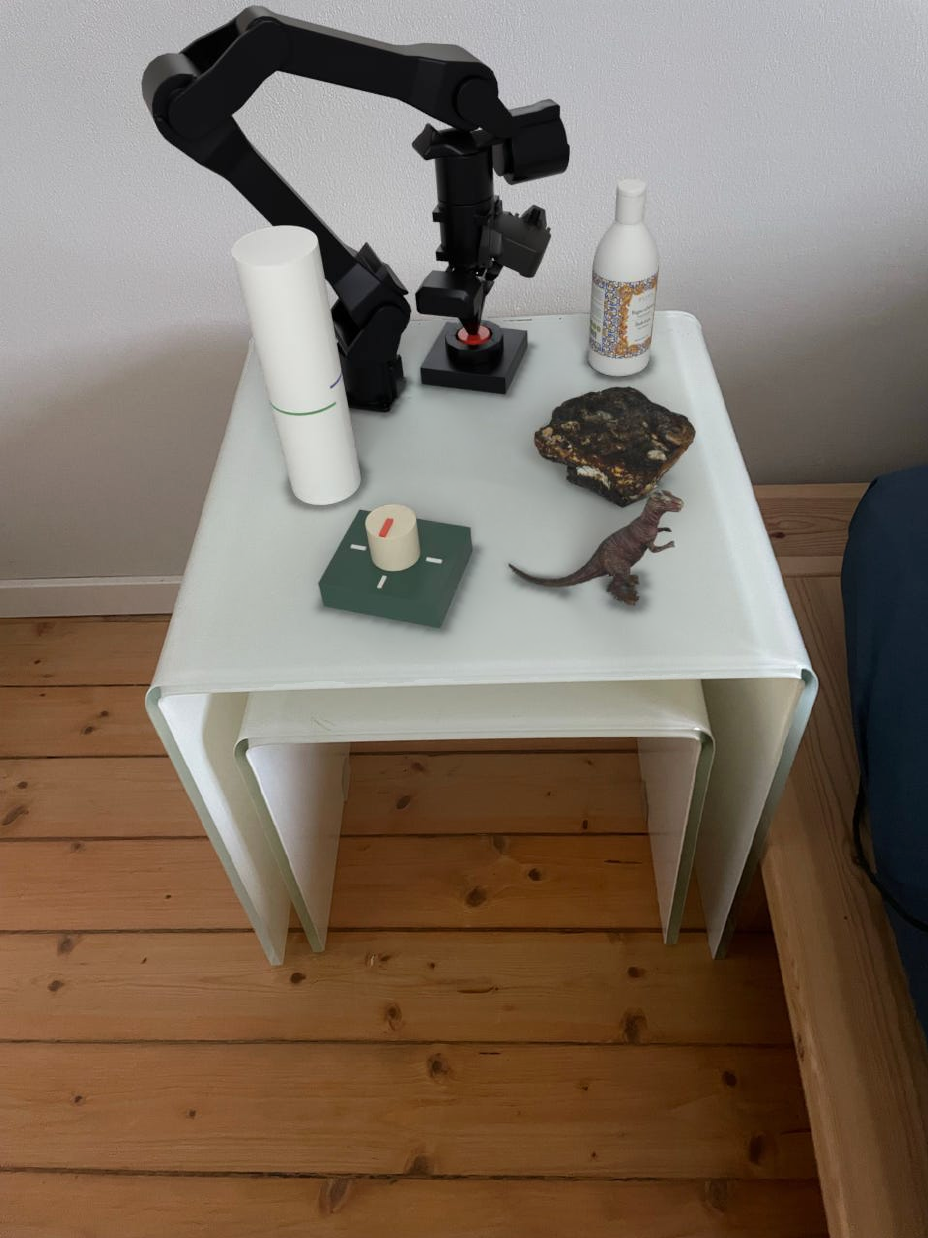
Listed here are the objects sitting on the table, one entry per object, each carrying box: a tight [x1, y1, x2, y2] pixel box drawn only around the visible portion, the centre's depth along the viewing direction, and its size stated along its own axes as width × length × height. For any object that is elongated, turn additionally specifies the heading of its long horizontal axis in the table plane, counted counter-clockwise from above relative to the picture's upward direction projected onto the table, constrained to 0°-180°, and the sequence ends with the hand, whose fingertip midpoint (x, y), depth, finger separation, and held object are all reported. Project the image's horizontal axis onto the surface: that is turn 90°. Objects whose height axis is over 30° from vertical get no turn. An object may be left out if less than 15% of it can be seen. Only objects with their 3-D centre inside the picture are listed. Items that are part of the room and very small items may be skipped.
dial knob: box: [365, 503, 420, 571], centre depth 80 cm, size 4×4×4 cm
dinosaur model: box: [507, 489, 685, 606], centre depth 77 cm, size 4×12×15 cm
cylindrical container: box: [230, 226, 362, 506], centre depth 84 cm, size 7×7×25 cm
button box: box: [419, 319, 529, 395], centre depth 105 cm, size 10×10×4 cm
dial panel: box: [317, 509, 473, 629], centre depth 82 cm, size 11×10×3 cm
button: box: [458, 325, 490, 345], centre depth 104 cm, size 4×4×2 cm
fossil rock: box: [533, 386, 697, 509], centre depth 90 cm, size 14×14×6 cm
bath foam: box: [588, 178, 660, 377], centre depth 98 cm, size 7×7×20 cm
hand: (473, 333), depth 103 cm, fingers closed, pressing on button
